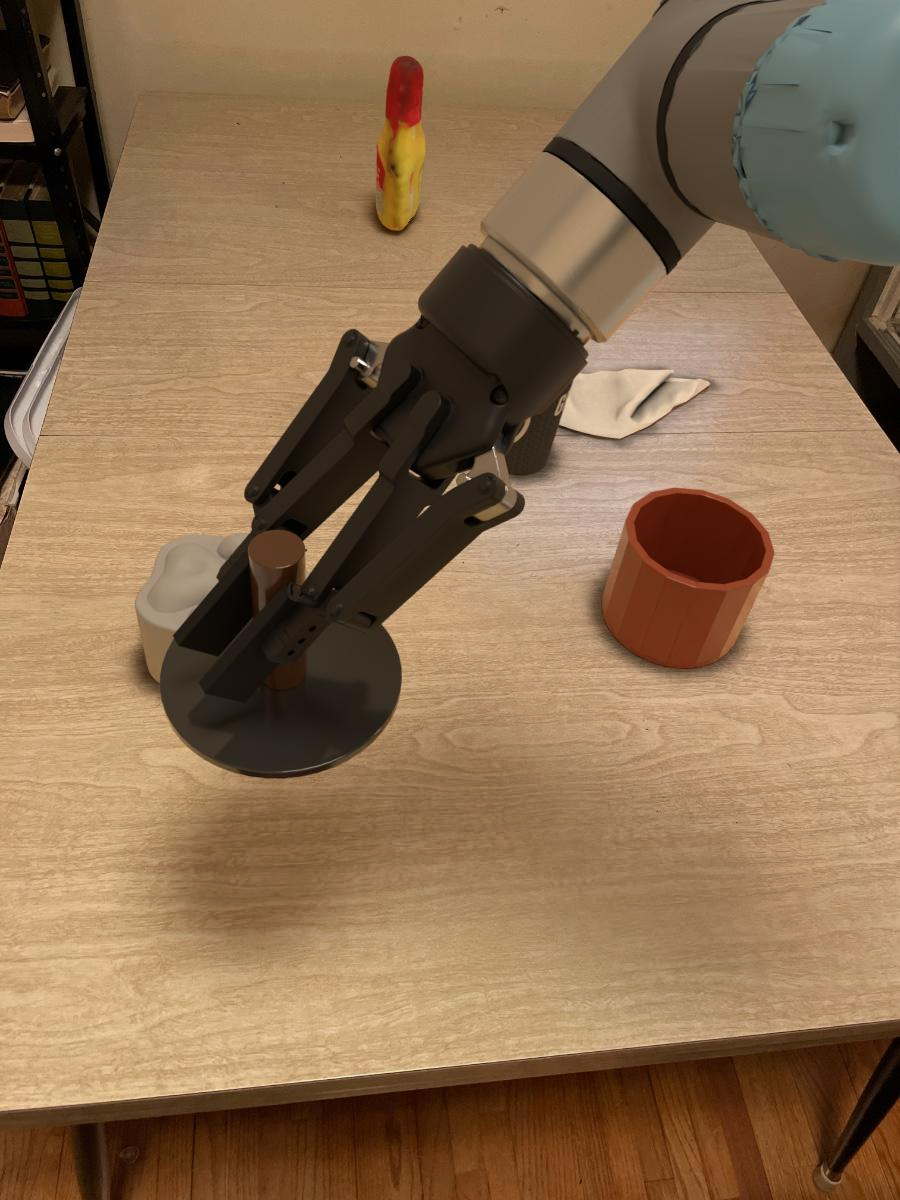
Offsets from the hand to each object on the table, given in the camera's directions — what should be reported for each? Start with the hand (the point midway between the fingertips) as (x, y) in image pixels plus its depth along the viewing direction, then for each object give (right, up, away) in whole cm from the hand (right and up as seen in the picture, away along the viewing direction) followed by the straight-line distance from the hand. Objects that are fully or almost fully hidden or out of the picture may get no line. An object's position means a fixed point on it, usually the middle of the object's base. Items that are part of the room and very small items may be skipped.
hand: (209, 668), depth 47 cm
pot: (+31, +2, +36) cm, 48 cm away
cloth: (+28, +25, +58) cm, 69 cm away
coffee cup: (+18, +18, +50) cm, 56 cm away
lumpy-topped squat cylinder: (-5, -1, +29) cm, 30 cm away
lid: (+3, -1, +4) cm, 5 cm away
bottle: (+5, +55, +83) cm, 99 cm away
